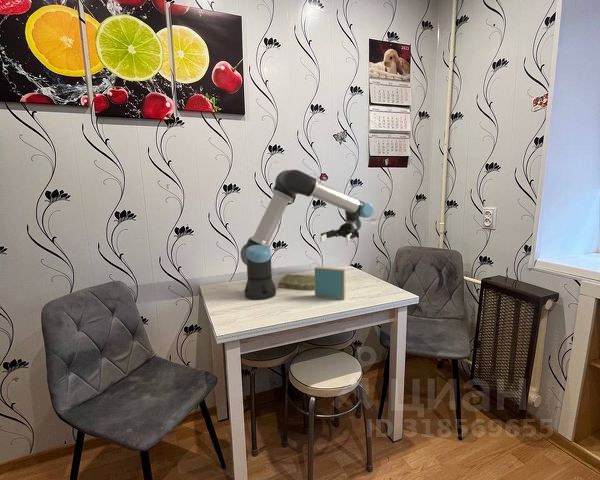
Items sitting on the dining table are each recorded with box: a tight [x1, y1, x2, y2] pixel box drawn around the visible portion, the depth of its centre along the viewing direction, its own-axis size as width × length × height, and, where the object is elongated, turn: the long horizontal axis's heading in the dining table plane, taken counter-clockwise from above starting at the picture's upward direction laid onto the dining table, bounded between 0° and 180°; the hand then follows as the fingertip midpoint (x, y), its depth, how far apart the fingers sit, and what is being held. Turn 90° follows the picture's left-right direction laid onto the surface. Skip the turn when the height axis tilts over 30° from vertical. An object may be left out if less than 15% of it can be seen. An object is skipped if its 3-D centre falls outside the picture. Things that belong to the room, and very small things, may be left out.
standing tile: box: [314, 266, 346, 301], centre depth 151 cm, size 14×3×14 cm, turn 68°
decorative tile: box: [278, 273, 315, 291], centre depth 172 cm, size 19×20×4 cm
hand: (333, 239), depth 158 cm, fingers open, 13 cm apart
